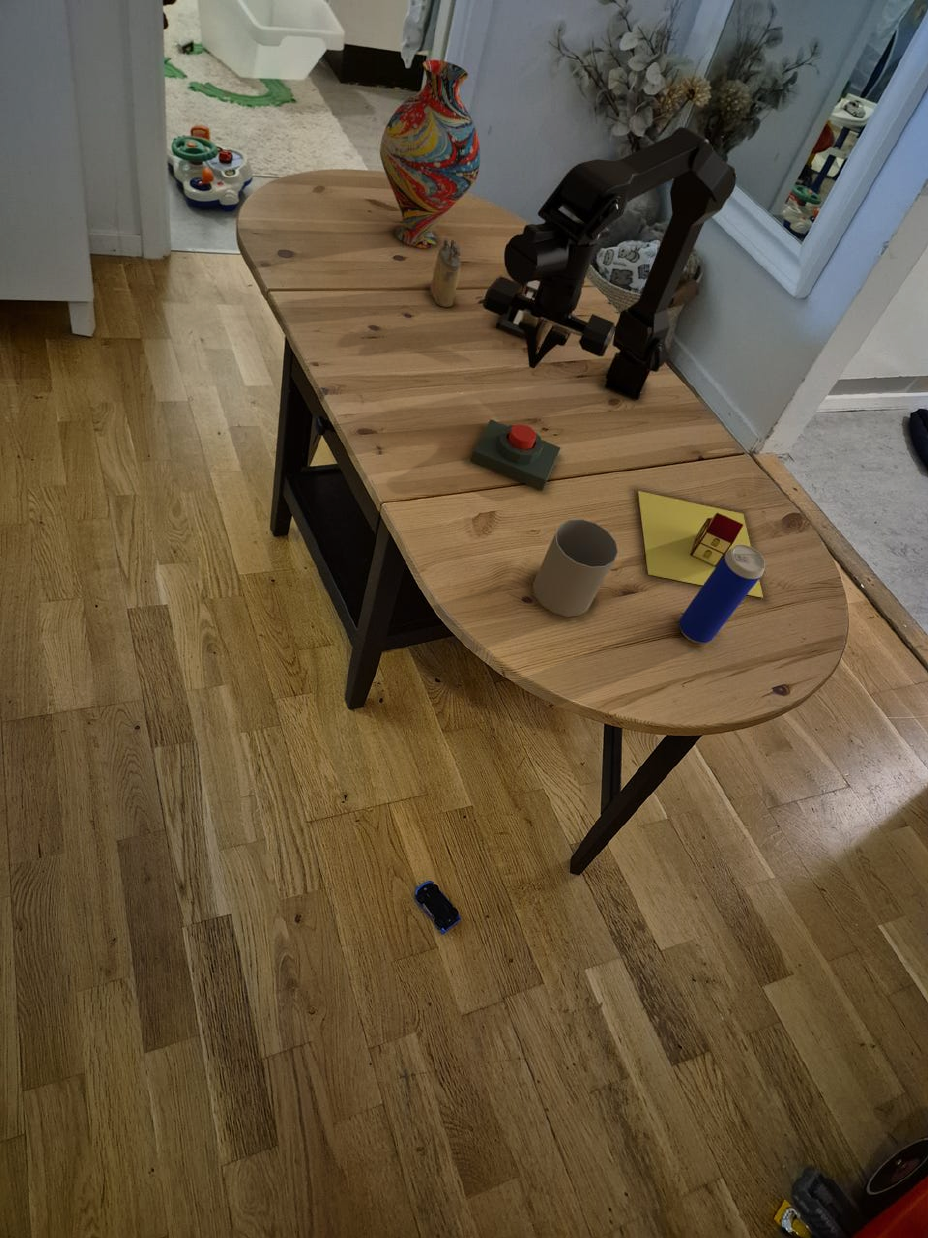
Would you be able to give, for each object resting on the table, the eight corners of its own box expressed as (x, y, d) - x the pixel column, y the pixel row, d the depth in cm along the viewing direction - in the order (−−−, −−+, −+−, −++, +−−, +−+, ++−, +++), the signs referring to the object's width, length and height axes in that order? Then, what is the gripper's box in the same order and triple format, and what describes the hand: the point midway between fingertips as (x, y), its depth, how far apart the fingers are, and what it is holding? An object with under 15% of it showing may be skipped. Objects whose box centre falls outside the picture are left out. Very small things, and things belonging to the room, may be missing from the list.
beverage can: (707, 618, 112) (761, 545, 101) (716, 647, 109) (772, 576, 98) (674, 613, 111) (724, 540, 100) (681, 643, 108) (734, 571, 97)
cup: (543, 618, 105) (567, 568, 98) (524, 571, 110) (546, 520, 102) (600, 613, 108) (627, 565, 100) (579, 568, 113) (604, 518, 105)
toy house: (691, 563, 119) (716, 525, 112) (685, 532, 123) (709, 493, 117) (727, 571, 119) (754, 533, 113) (720, 539, 124) (746, 501, 117)
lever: (524, 340, 142) (526, 332, 140) (498, 330, 143) (500, 321, 140) (548, 290, 146) (550, 281, 144) (522, 280, 146) (524, 270, 144)
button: (535, 439, 123) (539, 430, 122) (529, 453, 120) (532, 444, 119) (512, 429, 123) (515, 420, 122) (504, 444, 121) (507, 434, 119)
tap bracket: (535, 343, 147) (550, 297, 140) (495, 327, 147) (508, 280, 140) (548, 319, 153) (563, 273, 146) (510, 303, 154) (523, 257, 146)
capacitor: (455, 308, 148) (467, 256, 141) (435, 307, 147) (446, 255, 139) (445, 286, 152) (456, 235, 145) (426, 285, 151) (436, 233, 143)
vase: (360, 209, 164) (380, 39, 141) (446, 216, 170) (479, 55, 147) (382, 259, 153) (407, 84, 130) (473, 264, 160) (512, 99, 137)
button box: (556, 457, 127) (564, 438, 124) (542, 491, 121) (550, 471, 118) (487, 429, 128) (493, 409, 125) (469, 461, 122) (475, 441, 119)
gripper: (640, 271, 113) (601, 365, 125) (519, 222, 114) (492, 319, 126) (624, 304, 106) (584, 400, 118) (496, 251, 107) (469, 352, 119)
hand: (532, 366), depth 120 cm, fingers closed
